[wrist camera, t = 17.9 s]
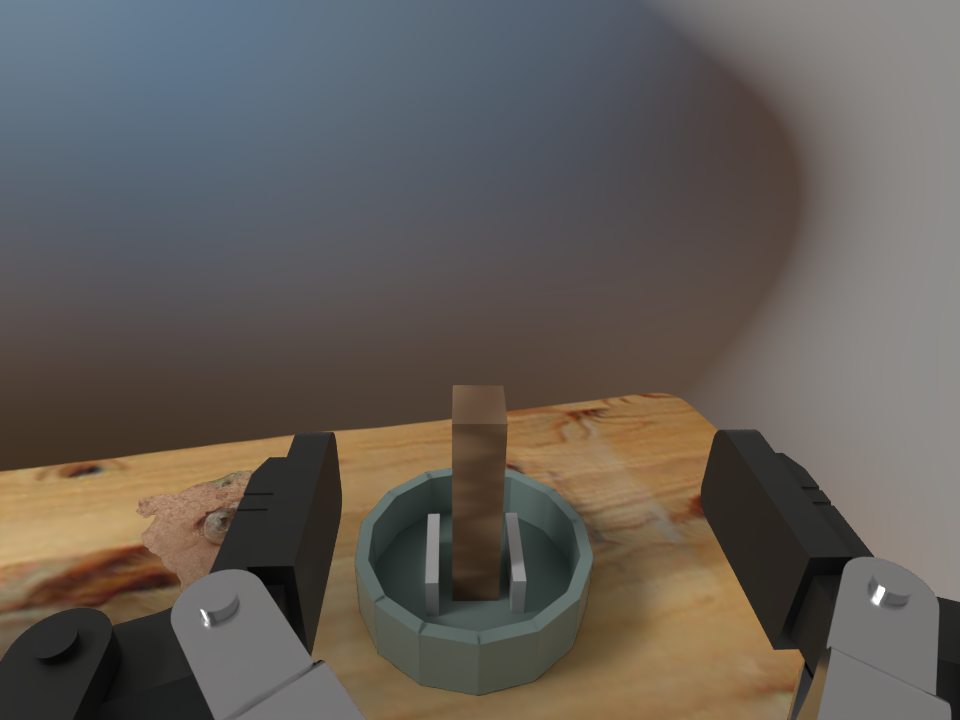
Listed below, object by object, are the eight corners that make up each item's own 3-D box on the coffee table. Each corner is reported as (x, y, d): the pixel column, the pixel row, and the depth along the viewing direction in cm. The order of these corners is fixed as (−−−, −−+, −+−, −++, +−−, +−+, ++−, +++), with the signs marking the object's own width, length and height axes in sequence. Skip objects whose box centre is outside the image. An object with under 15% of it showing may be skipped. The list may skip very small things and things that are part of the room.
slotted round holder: (346, 699, 35) (339, 648, 33) (374, 511, 49) (371, 466, 46) (606, 691, 36) (616, 641, 34) (563, 508, 49) (568, 463, 47)
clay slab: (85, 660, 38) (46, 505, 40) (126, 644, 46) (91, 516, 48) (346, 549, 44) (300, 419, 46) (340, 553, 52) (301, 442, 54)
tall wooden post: (452, 601, 40) (452, 423, 33) (453, 554, 44) (453, 385, 37) (498, 600, 40) (507, 423, 33) (495, 554, 44) (503, 385, 37)
